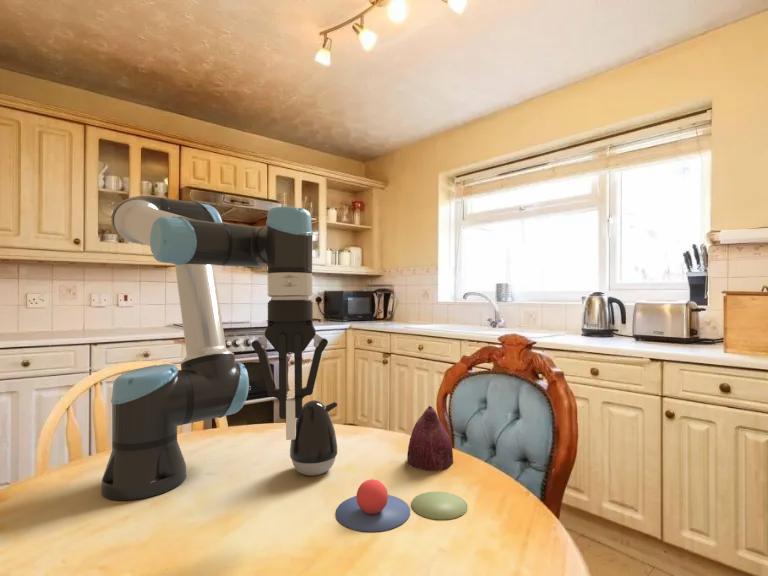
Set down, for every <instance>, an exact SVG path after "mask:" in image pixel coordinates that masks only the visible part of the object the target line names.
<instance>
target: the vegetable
mask: <svg viewBox="0 0 768 576" xmlns="http://www.w3.org/2000/svg"><path fill="white" fill-rule="evenodd" d="M436 411H437V410H436V409H435V408H434V407H432V406H431V405H428V407H427V408H426V409H425V410H424V412H423V413H422V415H420V417H419V418H418V420H416V422H415V424H414V427H413V429H412V431H411V435H410V438H409V443H408V448H407V455H406V456H407V458H406V461H407V464H408V466H409V467H412V468H414V469H418V470H422V471H425V472H427V471H428V472H436V471H438V472H439V471H442V470H446V469H449V468H450V467H451V466H452V465H453V464H454V454H453V452H454V451H453V445H452V441H451V437H450V436H449V434H448V432H447V430H446V427H444V425H443V423H442V422H441V421H440V419H439V417H438V413H437V412H436Z"/></svg>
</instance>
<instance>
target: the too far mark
mask: <svg viewBox="0 0 768 576" xmlns="http://www.w3.org/2000/svg"><path fill="white" fill-rule="evenodd" d="M410 503H411V508H412V510H413V511H414V512H415V513H416V514H418V515H419V516H421V517H424V518H426V519H431V520H439V521H442V520H443V521H446V520H447V521H448V520H454V519H457V518H460V517H462V516H463V515H465V513H467V511H468V503H467V502H466V500H465V499H464V498H462V497H461V496H458V495H456V494H454V493H452V492H451V493H450V492H446V491H427V492H423V493H420V494H417V495H416V496H415V497H413V498H412V500H411V502H410Z"/></svg>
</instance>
